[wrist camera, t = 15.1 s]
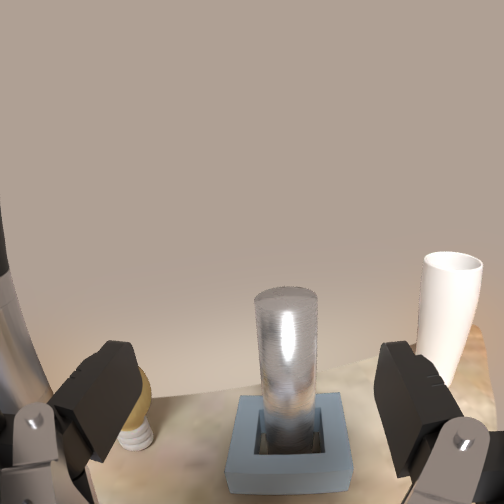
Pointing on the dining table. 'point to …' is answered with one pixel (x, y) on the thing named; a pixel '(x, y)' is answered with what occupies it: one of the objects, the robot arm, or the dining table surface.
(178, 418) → the dining table surface
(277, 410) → the steel pin
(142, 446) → the light bulb
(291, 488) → the blue square frame
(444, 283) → the drinking glass
